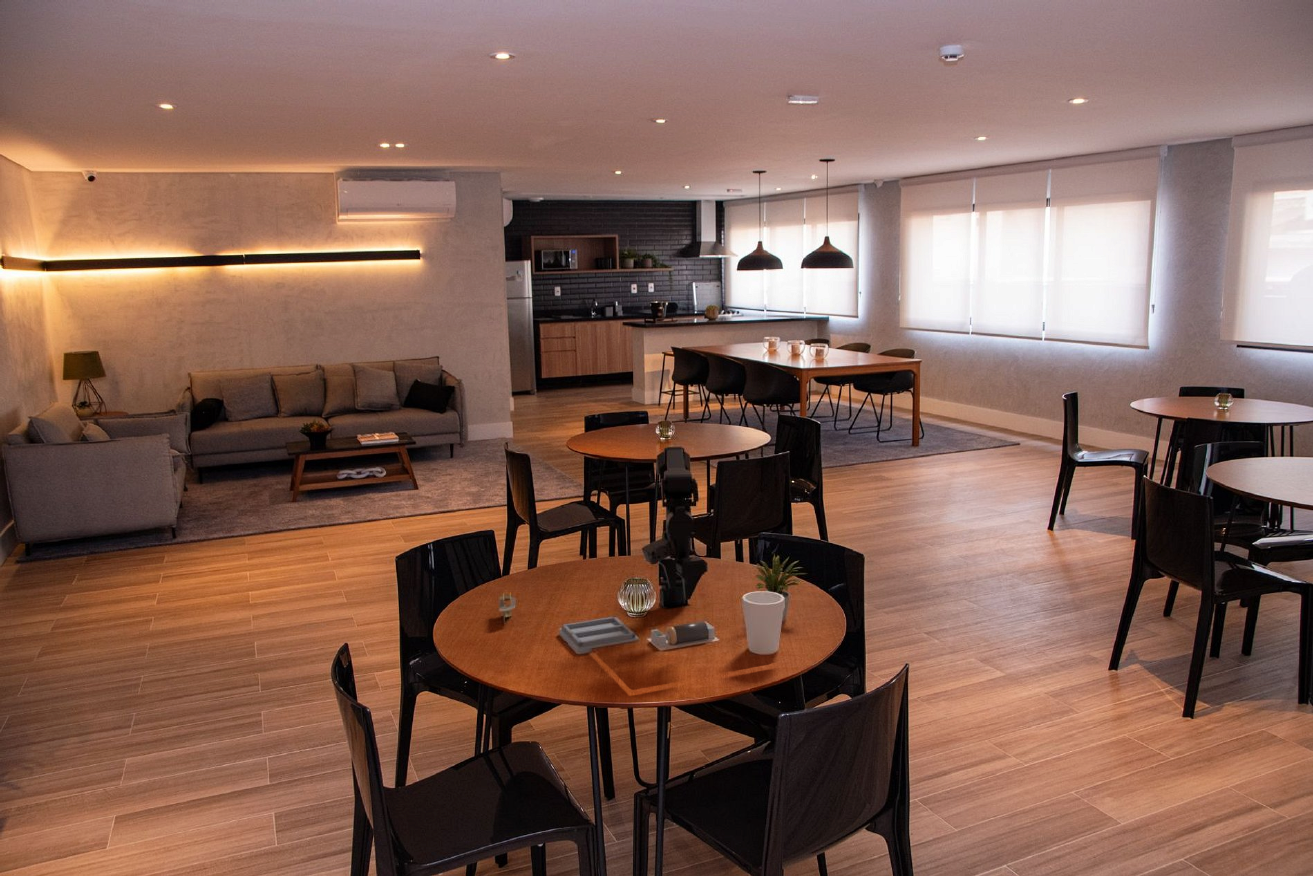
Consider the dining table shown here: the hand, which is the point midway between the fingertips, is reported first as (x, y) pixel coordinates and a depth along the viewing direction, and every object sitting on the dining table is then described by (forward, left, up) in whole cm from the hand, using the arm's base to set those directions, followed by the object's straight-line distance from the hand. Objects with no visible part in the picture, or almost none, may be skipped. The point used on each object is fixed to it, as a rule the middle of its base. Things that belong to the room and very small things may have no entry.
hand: (679, 593), depth 220 cm
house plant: (-28, -5, -12) cm, 31 cm away
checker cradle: (-1, 0, -12) cm, 12 cm away
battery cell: (-1, 0, -11) cm, 11 cm away
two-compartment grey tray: (+16, -11, -12) cm, 23 cm away
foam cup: (-15, +13, -12) cm, 23 cm away
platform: (+32, -33, -13) cm, 48 cm away
